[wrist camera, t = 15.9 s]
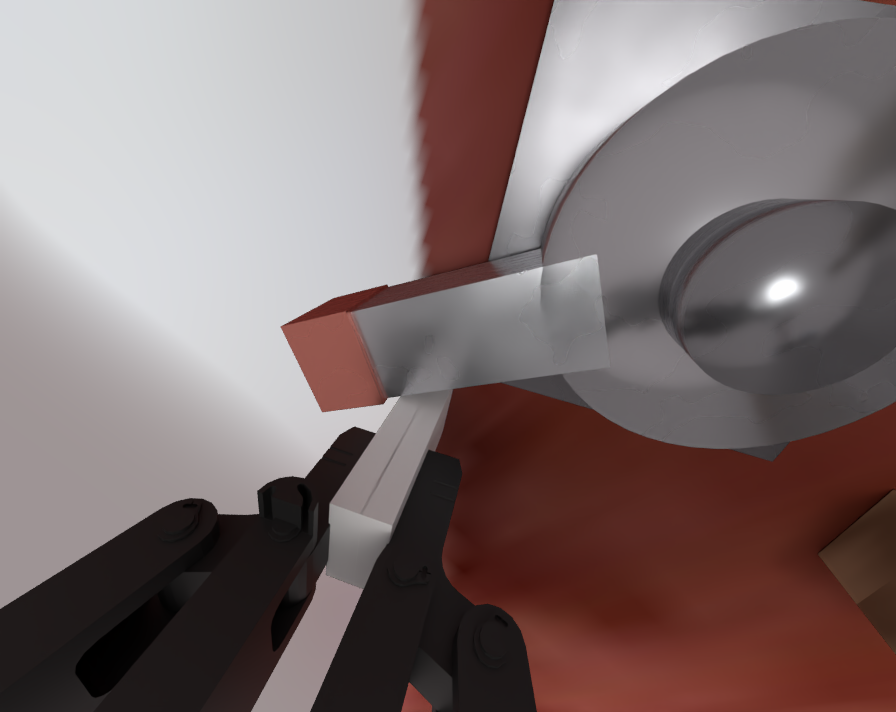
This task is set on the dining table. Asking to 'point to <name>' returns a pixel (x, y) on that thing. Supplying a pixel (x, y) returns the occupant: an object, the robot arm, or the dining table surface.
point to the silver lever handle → (679, 264)
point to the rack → (869, 565)
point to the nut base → (625, 98)
